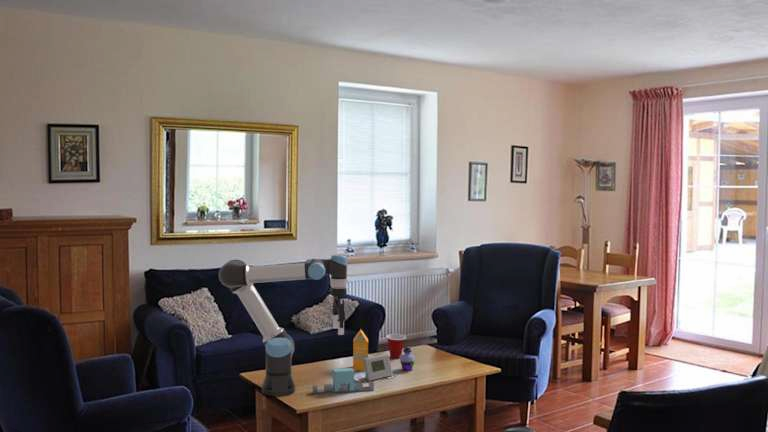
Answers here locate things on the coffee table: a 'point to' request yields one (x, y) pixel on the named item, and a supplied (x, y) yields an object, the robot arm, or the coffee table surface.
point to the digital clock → (377, 367)
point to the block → (343, 378)
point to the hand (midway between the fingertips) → (338, 331)
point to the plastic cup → (395, 345)
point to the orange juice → (360, 350)
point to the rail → (343, 388)
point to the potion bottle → (407, 359)
